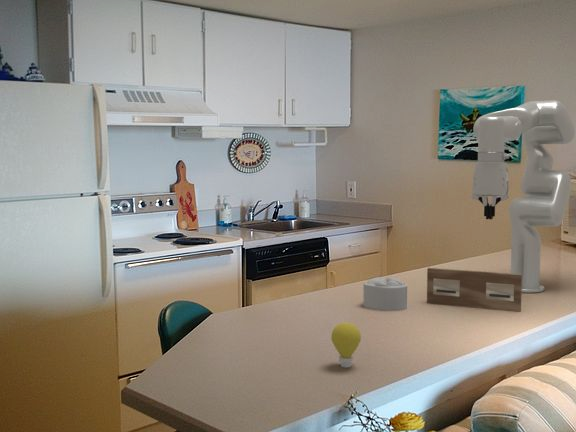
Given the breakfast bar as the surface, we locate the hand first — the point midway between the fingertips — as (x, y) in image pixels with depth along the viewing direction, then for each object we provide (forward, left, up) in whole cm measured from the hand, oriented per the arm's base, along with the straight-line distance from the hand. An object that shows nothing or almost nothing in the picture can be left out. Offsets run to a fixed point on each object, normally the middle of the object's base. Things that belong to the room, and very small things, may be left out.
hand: (489, 218), depth 210 cm
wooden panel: (+2, -4, -27) cm, 27 cm away
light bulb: (+70, -21, -27) cm, 78 cm away
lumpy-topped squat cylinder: (+12, -28, -27) cm, 41 cm away
